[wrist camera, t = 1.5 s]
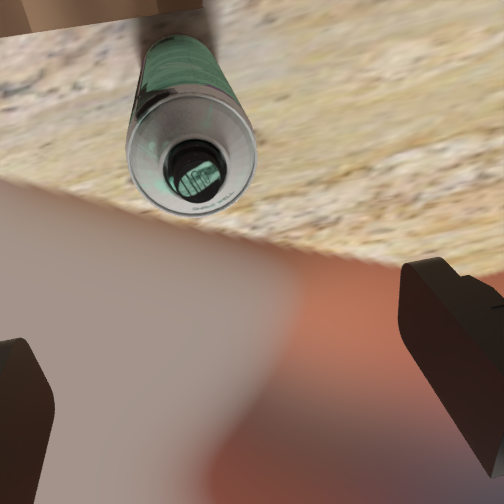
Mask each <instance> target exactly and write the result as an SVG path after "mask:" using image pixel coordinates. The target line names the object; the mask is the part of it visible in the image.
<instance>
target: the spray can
mask: <svg viewBox="0 0 504 504" xmlns="http://www.w3.org/2000/svg"><path fill="white" fill-rule="evenodd" d="M125 150H126V159H127V164H128V169H129V172H130V175H131V178H132V181H133V182H134V184H135V186H136V188H137V189H138V191H139V192H140V193H141V194H142V195H143V197H144V198H145V199H146V200H147V201H149V202H150V203H151V204H152V205H154V206H155V207H156V208H158V209H160V210H162V211H164V212H166V213H169V214H172V215H175V216H179V217H187V218H199V217H206V216H210V215H214V214H216V213H219V212H221V211H223V210H225V209H227V208H228V207H230V206H231V205H233V204H234V203H235V202H236V201H237V200H239V199H240V198H241V197H242V196H243V194H244V193H245V192H246V190H247V189H248V187H249V186H250V184H251V182H252V179H253V177H254V174H255V170H256V166H257V145H256V138H255V133H254V131H253V128H252V125H251V123H250V121H249V119H248V117H247V115H246V114H245V112H244V110H243V108H242V106H241V105H240V103H239V101H238V99H237V97H236V96H235V94H234V92H233V90H232V89H231V87H230V85H229V83H228V81H227V80H226V78H225V76H224V74H223V72H222V71H221V69H220V67H219V65H218V64H217V62H216V60H215V58H214V56H213V55H212V53H211V52H210V50H209V49H208V48H207V47H206V46H205V45H204V44H203V43H201V42H200V41H199V40H197V39H195V38H193V37H191V36H187V35H183V34H173V35H168V36H165V37H163V38H161V39H159V40H158V41H156V42H155V43H154V44H153V45H152V46H151V47H150V48H149V50H148V51H147V53H146V55H145V57H144V60H143V63H142V67H141V71H140V76H139V81H138V85H137V90H136V95H135V99H134V104H133V108H132V113H131V118H130V122H129V127H128V132H127V137H126V147H125Z"/></svg>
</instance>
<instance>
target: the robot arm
mask: <svg viewBox="0 0 504 504" xmlns="http://www.w3.org/2000/svg"><path fill="white" fill-rule="evenodd" d="M398 325H399V331H400V334H401V337H402V340H403V342H404V344H405V346H406V347H407V349H408V351H409V352H410V354H411V355H412V357H413V359H414V360H415V362H416V363H417V365H418V366H419V368H420V369H421V371H422V372H423V374H424V376H425V377H426V379H427V380H428V382H429V384H430V385H431V387H432V388H433V390H434V391H435V393H436V394H437V396H438V397H439V399H440V401H441V402H442V404H443V405H444V407H445V408H446V410H447V412H448V413H449V415H450V416H451V418H452V419H453V421H454V422H455V424H456V426H457V427H458V429H459V430H460V432H461V433H462V435H463V436H464V438H465V440H466V441H467V443H468V444H469V446H470V447H471V449H472V450H473V452H474V454H475V455H476V457H477V458H478V460H479V461H480V463H481V465H482V466H483V468H484V469H485V471H486V472H487V474H488V476H489V477H490V478H491V479H492V478H496V477H501V476H504V298H503V297H502V296H501V295H500V294H499V293H498V292H497V291H496V290H495V289H494V288H493V287H491V286H489V285H487V284H485V283H483V282H482V281H480V280H478V279H476V278H474V277H472V276H470V275H466V276H461V277H460V276H459V275H458V274H457V273H456V271H455V270H454V269H453V268H452V267H451V266H450V265H449V264H448V263H447V262H446V261H445V260H444V259H442V258H441V257H435V258H430V259H425V260H419V261H414V262H409V263H405V264H404V265H403V266H402V269H401V277H400V291H399V308H398ZM54 414H55V403H54V397H53V393H52V390H51V387H50V385H49V383H48V382H47V379H46V377H45V375H44V373H43V371H42V369H41V367H40V365H39V363H38V362H37V360H36V358H35V356H34V354H33V352H32V350H31V348H30V346H29V344H28V343H27V341H26V340H25V339H23V338H16V339H11V340H6V341H1V342H0V504H34V499H35V495H36V491H37V487H38V483H39V479H40V474H41V470H42V466H43V461H44V458H45V454H46V449H47V445H48V441H49V437H50V432H51V429H52V424H53V420H54Z"/></svg>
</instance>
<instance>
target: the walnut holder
mask: <svg viewBox="0 0 504 504" xmlns="http://www.w3.org/2000/svg"><path fill="white" fill-rule="evenodd" d="M198 8H203V6H202V0H0V38H1V37H8V36H15V35H22V34H28V33H35V32H42V31H49V30H56V29H62V28H69V27H76V26H83V25H89V24H96V23H103V22H110V21H117V20H123V19H130V18H137V17H144V16H151V15H157V14H164V13H171V12H178V11H184V10H191V9H198Z"/></svg>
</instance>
